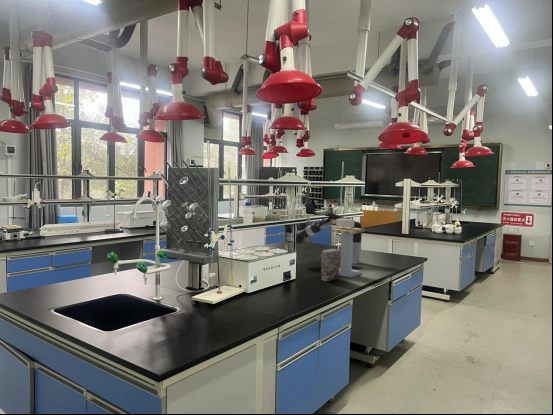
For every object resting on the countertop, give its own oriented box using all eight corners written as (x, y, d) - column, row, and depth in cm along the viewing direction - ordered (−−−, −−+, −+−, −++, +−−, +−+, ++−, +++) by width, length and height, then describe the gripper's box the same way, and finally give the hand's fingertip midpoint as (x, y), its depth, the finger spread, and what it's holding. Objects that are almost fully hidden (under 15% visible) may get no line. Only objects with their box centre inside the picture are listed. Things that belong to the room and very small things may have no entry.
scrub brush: (320, 224, 279) (320, 217, 279) (325, 223, 286) (326, 217, 285) (349, 227, 265) (349, 220, 265) (354, 226, 272) (354, 219, 271)
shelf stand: (328, 274, 269) (329, 229, 267) (342, 269, 286) (344, 226, 284) (348, 278, 259) (350, 231, 257) (362, 272, 277) (364, 228, 275)
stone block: (328, 282, 248) (329, 251, 246) (319, 280, 252) (320, 250, 251) (340, 278, 257) (341, 249, 256) (331, 276, 262) (332, 248, 261)
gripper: (306, 225, 283) (324, 215, 274) (316, 223, 294) (333, 214, 285) (310, 234, 281) (328, 224, 272) (320, 232, 293) (337, 223, 283)
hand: (331, 219), depth 278 cm, fingers closed on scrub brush, 2 cm apart
